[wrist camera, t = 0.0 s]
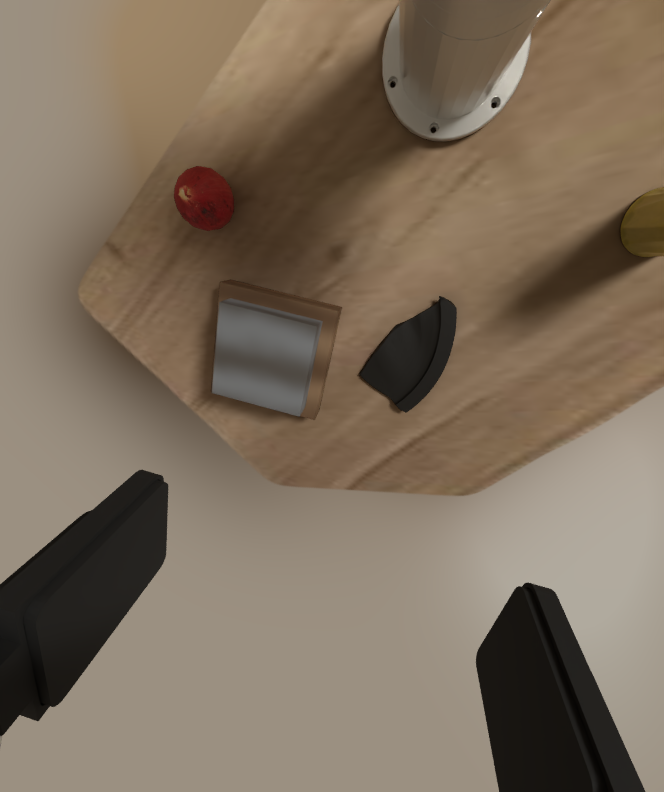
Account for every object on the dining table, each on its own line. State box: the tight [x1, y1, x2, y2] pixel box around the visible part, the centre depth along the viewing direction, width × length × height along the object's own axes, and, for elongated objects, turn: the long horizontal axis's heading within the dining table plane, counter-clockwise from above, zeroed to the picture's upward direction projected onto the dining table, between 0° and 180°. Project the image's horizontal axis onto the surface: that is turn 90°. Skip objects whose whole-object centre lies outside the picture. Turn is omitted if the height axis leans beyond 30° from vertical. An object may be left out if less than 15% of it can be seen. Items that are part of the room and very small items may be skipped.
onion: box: [174, 166, 234, 231], centre depth 38 cm, size 6×6×8 cm
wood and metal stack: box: [211, 280, 342, 420], centre depth 44 cm, size 14×14×6 cm
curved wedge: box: [360, 296, 457, 412], centre depth 44 cm, size 8×14×2 cm, turn 144°
